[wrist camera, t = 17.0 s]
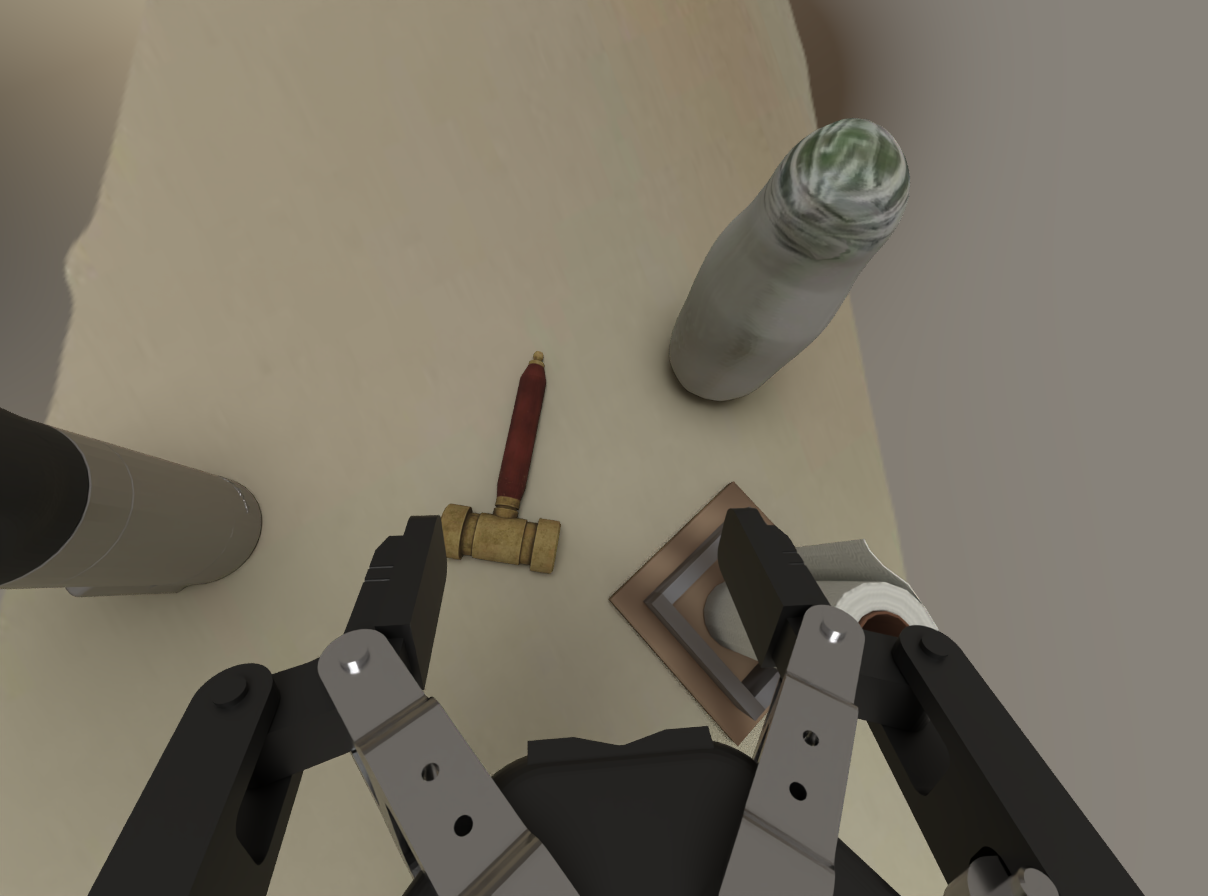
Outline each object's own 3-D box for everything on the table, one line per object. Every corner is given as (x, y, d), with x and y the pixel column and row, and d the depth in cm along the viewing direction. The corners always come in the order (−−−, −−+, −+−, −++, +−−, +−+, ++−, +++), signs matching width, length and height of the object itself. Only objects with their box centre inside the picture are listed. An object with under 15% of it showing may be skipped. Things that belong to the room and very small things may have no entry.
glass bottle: (665, 316, 54) (781, 52, 27) (758, 335, 54) (965, 96, 27) (651, 403, 51) (764, 209, 24) (749, 422, 52) (968, 254, 25)
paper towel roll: (749, 664, 44) (921, 739, 24) (690, 626, 45) (808, 669, 24) (784, 590, 46) (971, 601, 26) (727, 555, 46) (866, 538, 26)
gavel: (486, 330, 48) (590, 350, 49) (491, 354, 52) (586, 371, 53) (431, 552, 41) (552, 571, 42) (441, 558, 46) (551, 575, 46)
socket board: (731, 740, 44) (756, 762, 39) (608, 599, 46) (615, 602, 41) (846, 609, 48) (883, 614, 43) (728, 484, 50) (749, 473, 44)
